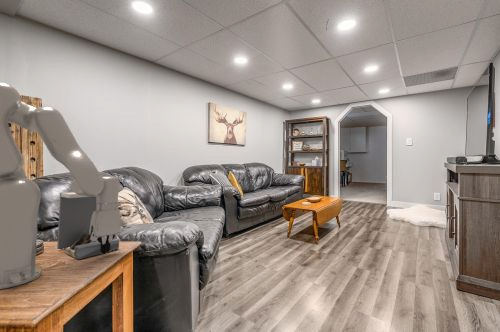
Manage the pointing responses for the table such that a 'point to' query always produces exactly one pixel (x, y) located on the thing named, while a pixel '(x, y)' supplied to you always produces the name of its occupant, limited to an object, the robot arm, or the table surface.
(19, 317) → the table surface
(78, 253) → the long grey base block
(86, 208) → the upright grey panel
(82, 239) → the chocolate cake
